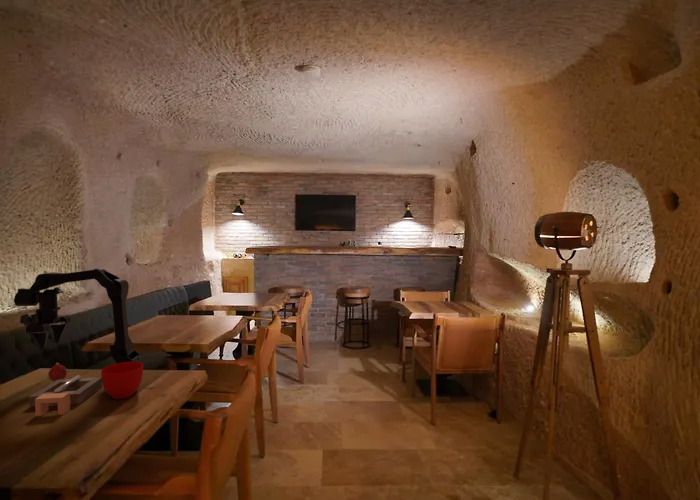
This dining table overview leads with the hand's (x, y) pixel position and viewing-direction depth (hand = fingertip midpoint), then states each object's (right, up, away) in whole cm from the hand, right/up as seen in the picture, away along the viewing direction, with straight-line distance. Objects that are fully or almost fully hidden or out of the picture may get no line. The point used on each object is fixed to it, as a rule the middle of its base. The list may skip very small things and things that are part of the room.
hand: (50, 345), depth 154 cm
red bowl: (+35, -15, -10) cm, 40 cm away
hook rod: (+16, -11, -13) cm, 23 cm away
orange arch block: (+20, -15, -25) cm, 36 cm away
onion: (+2, -15, +1) cm, 15 cm away
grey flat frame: (+16, -15, -12) cm, 25 cm away
